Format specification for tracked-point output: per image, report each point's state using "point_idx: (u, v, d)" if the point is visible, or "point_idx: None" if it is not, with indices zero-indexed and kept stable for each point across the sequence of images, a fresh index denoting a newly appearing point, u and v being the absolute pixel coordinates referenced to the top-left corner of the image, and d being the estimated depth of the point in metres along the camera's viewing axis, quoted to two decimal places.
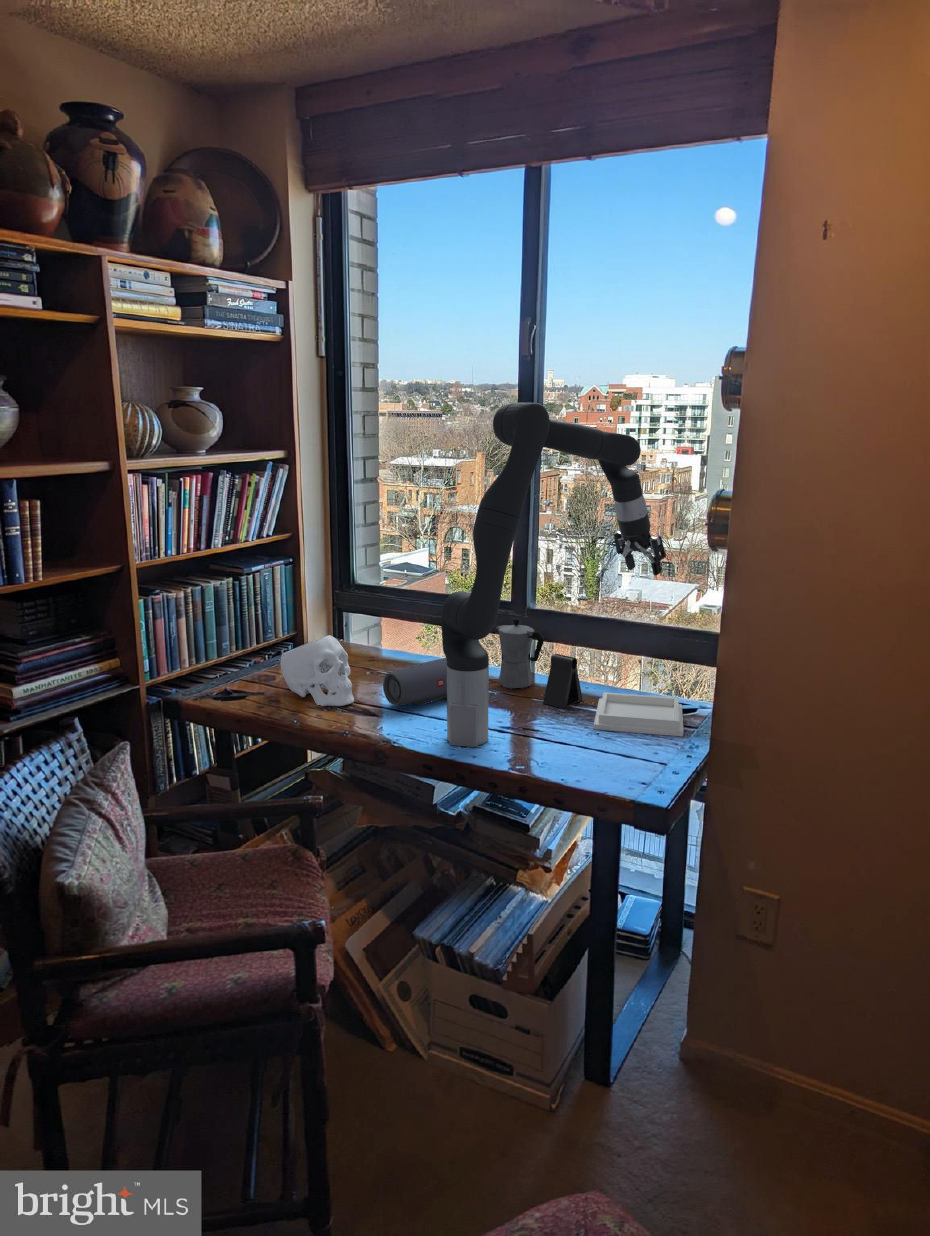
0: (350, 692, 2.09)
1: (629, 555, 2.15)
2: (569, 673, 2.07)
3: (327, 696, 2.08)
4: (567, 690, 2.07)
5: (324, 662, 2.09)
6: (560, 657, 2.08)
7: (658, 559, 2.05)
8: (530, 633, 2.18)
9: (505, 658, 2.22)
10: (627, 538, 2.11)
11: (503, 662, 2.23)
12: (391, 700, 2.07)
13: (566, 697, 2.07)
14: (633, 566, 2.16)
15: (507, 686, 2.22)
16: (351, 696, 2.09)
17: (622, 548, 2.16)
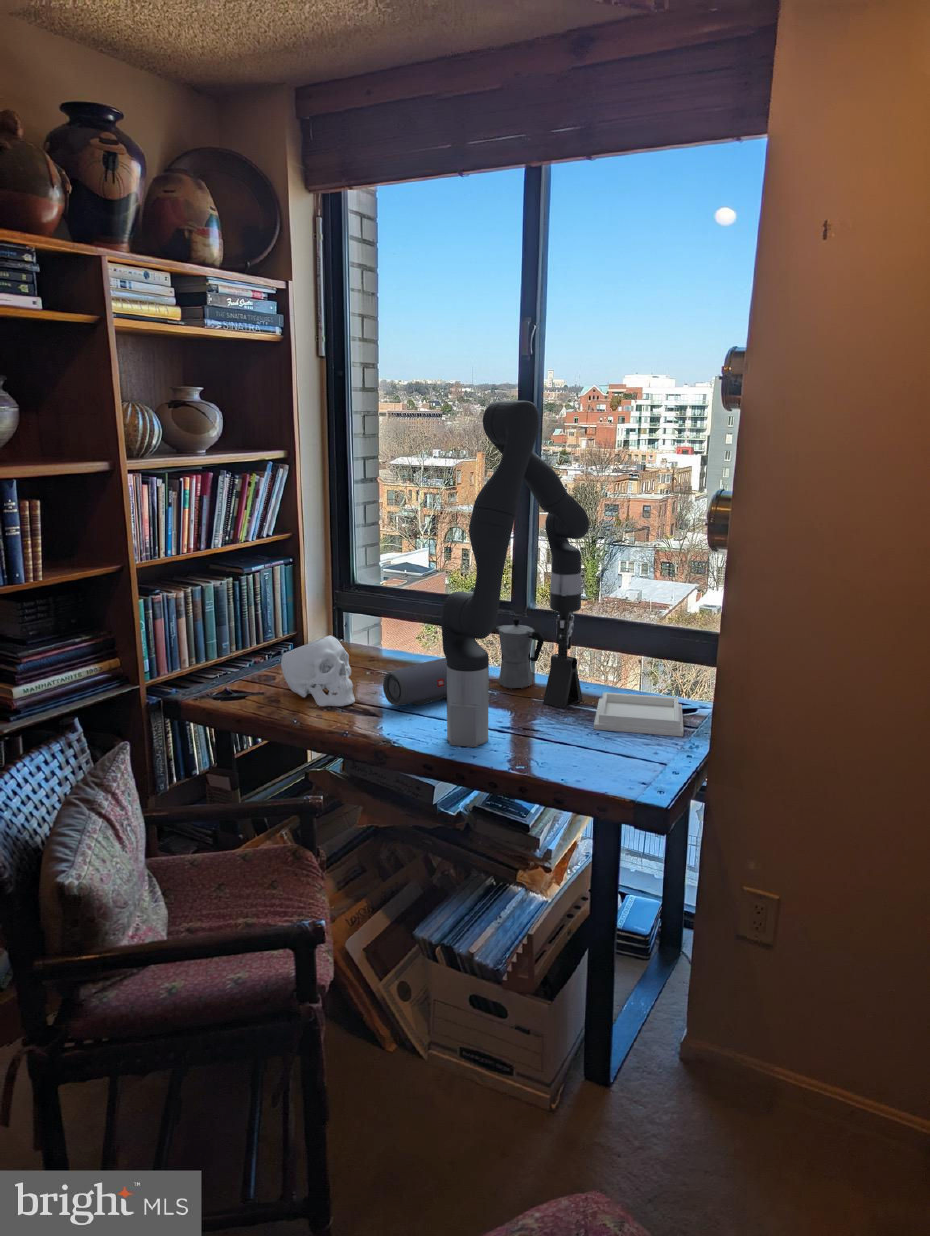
0: (351, 692, 2.09)
1: None
2: (569, 673, 2.07)
3: (328, 696, 2.08)
4: (567, 690, 2.07)
5: (325, 662, 2.09)
6: None
7: (556, 641, 2.01)
8: (530, 633, 2.18)
9: (505, 658, 2.22)
10: None
11: (503, 662, 2.23)
12: (391, 700, 2.07)
13: (566, 697, 2.07)
14: (567, 647, 2.12)
15: (507, 686, 2.22)
16: (352, 696, 2.09)
17: None
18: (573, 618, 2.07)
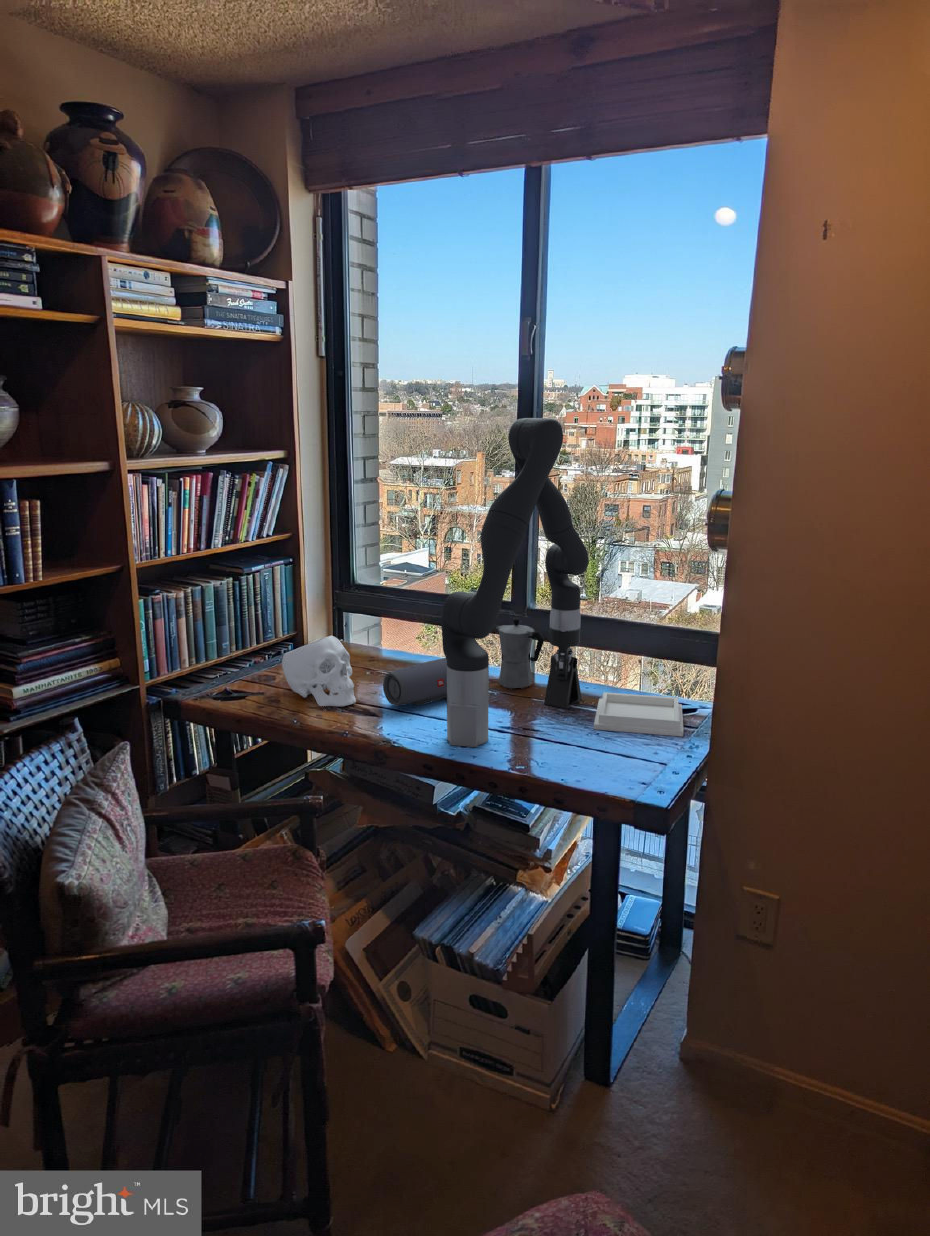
0: (352, 692, 2.09)
1: None
2: (570, 673, 2.07)
3: (329, 696, 2.08)
4: (569, 690, 2.07)
5: (326, 662, 2.09)
6: None
7: (556, 677, 2.06)
8: (530, 633, 2.18)
9: (505, 658, 2.22)
10: None
11: (503, 662, 2.23)
12: (391, 700, 2.07)
13: (568, 697, 2.07)
14: None
15: (507, 686, 2.22)
16: (353, 696, 2.09)
17: None
18: (572, 652, 2.09)
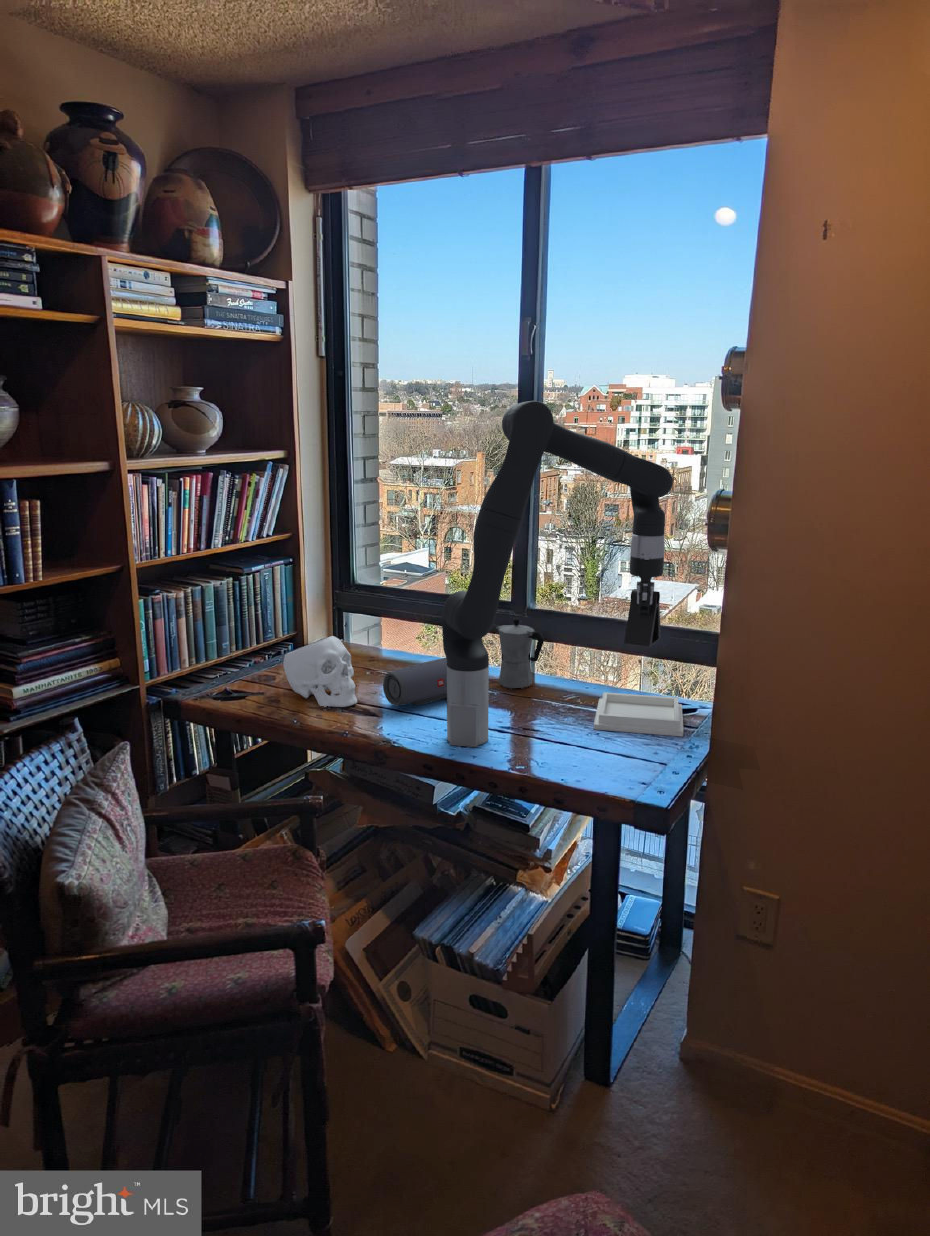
0: (353, 693, 2.09)
1: None
2: (654, 608, 1.91)
3: (330, 697, 2.08)
4: (652, 627, 1.91)
5: (327, 663, 2.09)
6: None
7: (638, 610, 1.90)
8: (530, 633, 2.18)
9: (505, 658, 2.22)
10: None
11: (503, 662, 2.23)
12: (391, 700, 2.07)
13: (651, 634, 1.91)
14: None
15: (507, 686, 2.22)
16: (354, 697, 2.09)
17: None
18: None
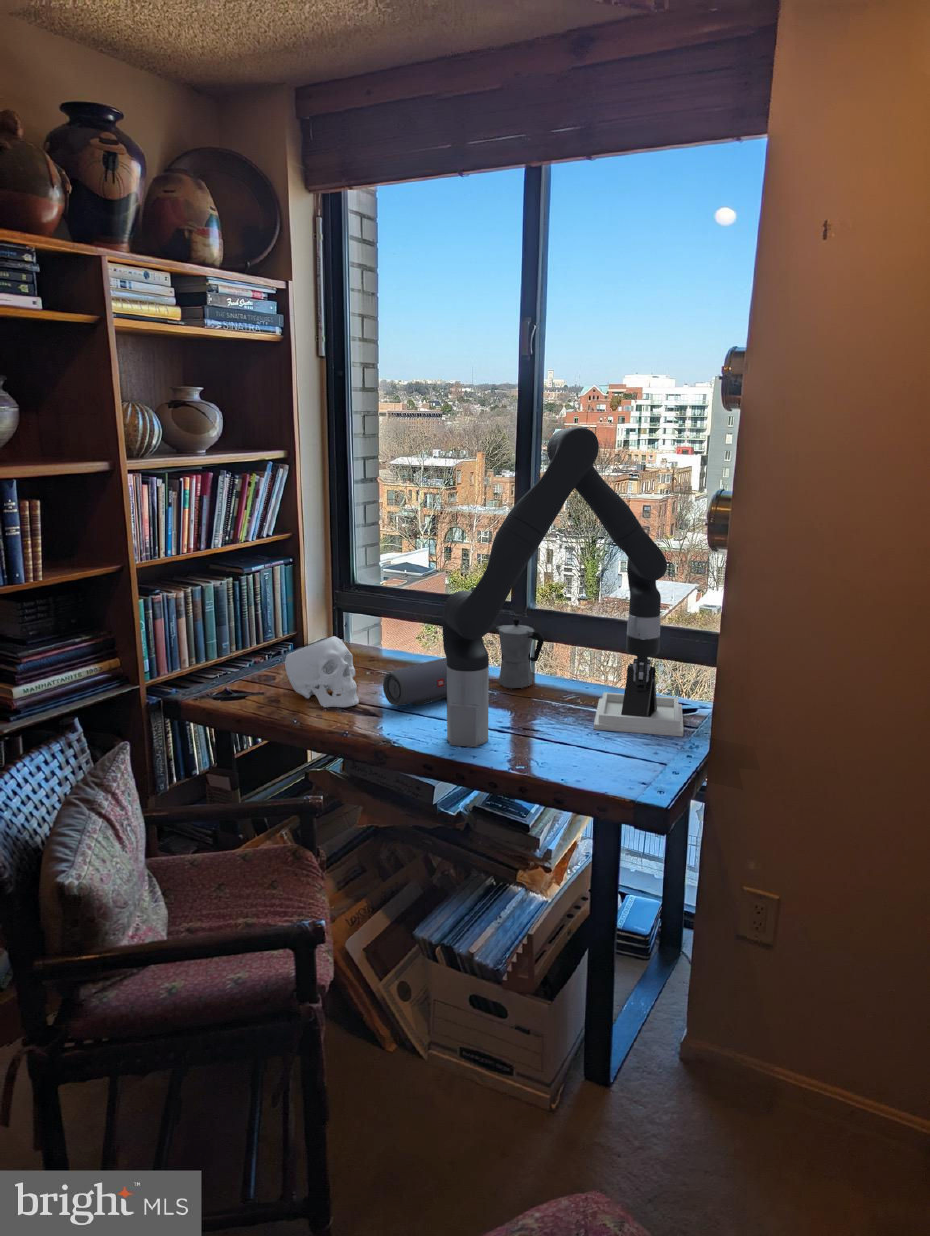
0: (355, 693, 2.08)
1: None
2: (650, 683, 1.95)
3: (332, 697, 2.07)
4: (648, 702, 1.95)
5: (329, 663, 2.08)
6: None
7: (635, 687, 1.94)
8: (530, 633, 2.18)
9: (505, 658, 2.22)
10: None
11: (503, 662, 2.23)
12: (391, 700, 2.07)
13: (648, 709, 1.95)
14: None
15: (507, 686, 2.22)
16: (356, 697, 2.08)
17: None
18: (650, 661, 1.97)
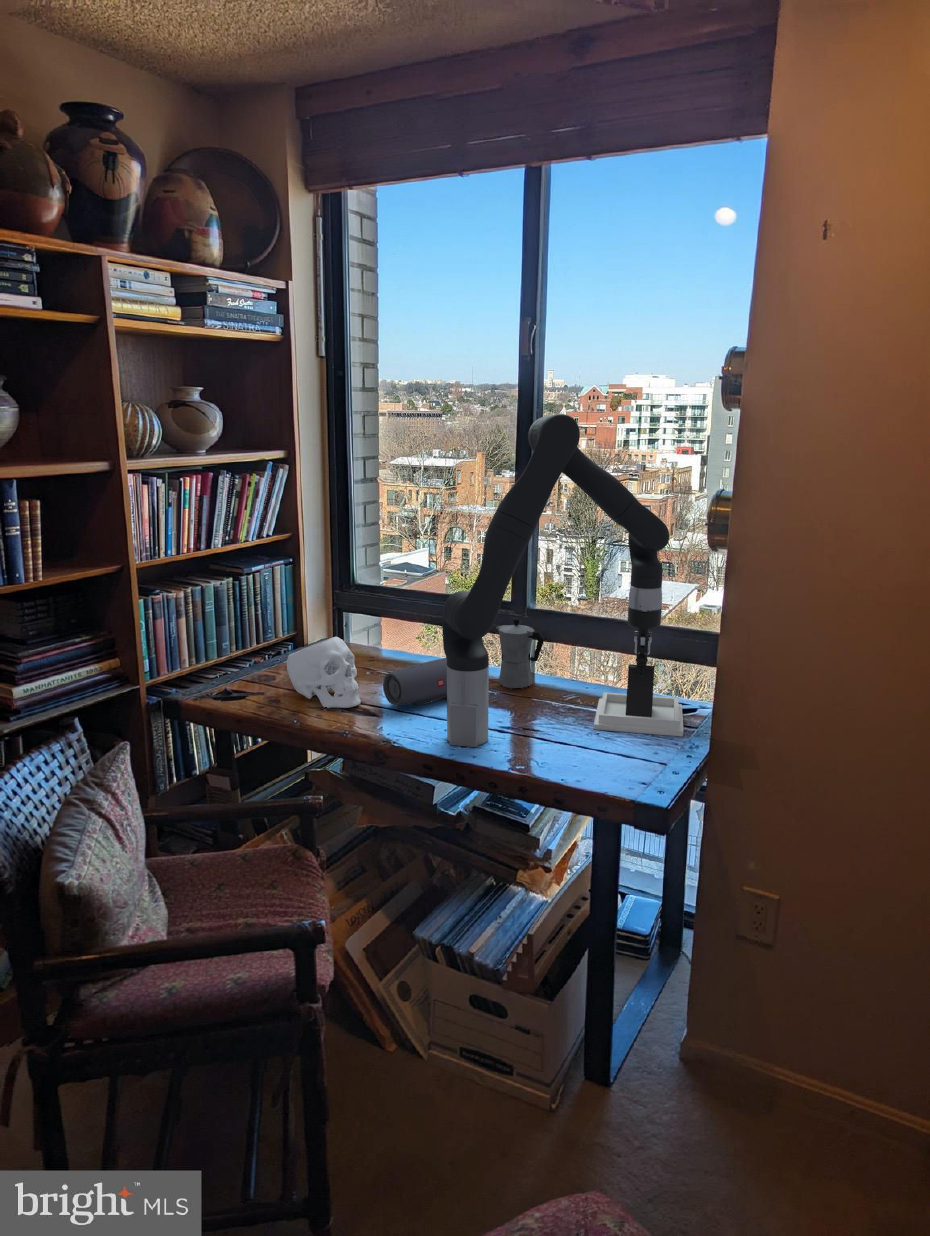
0: (356, 694, 2.08)
1: None
2: (652, 683, 1.96)
3: (333, 698, 2.07)
4: (652, 701, 1.95)
5: (330, 664, 2.08)
6: None
7: (636, 659, 1.90)
8: (530, 633, 2.18)
9: (505, 658, 2.22)
10: None
11: (503, 662, 2.23)
12: (391, 700, 2.07)
13: None
14: None
15: (507, 686, 2.22)
16: (357, 698, 2.08)
17: None
18: (651, 635, 1.95)
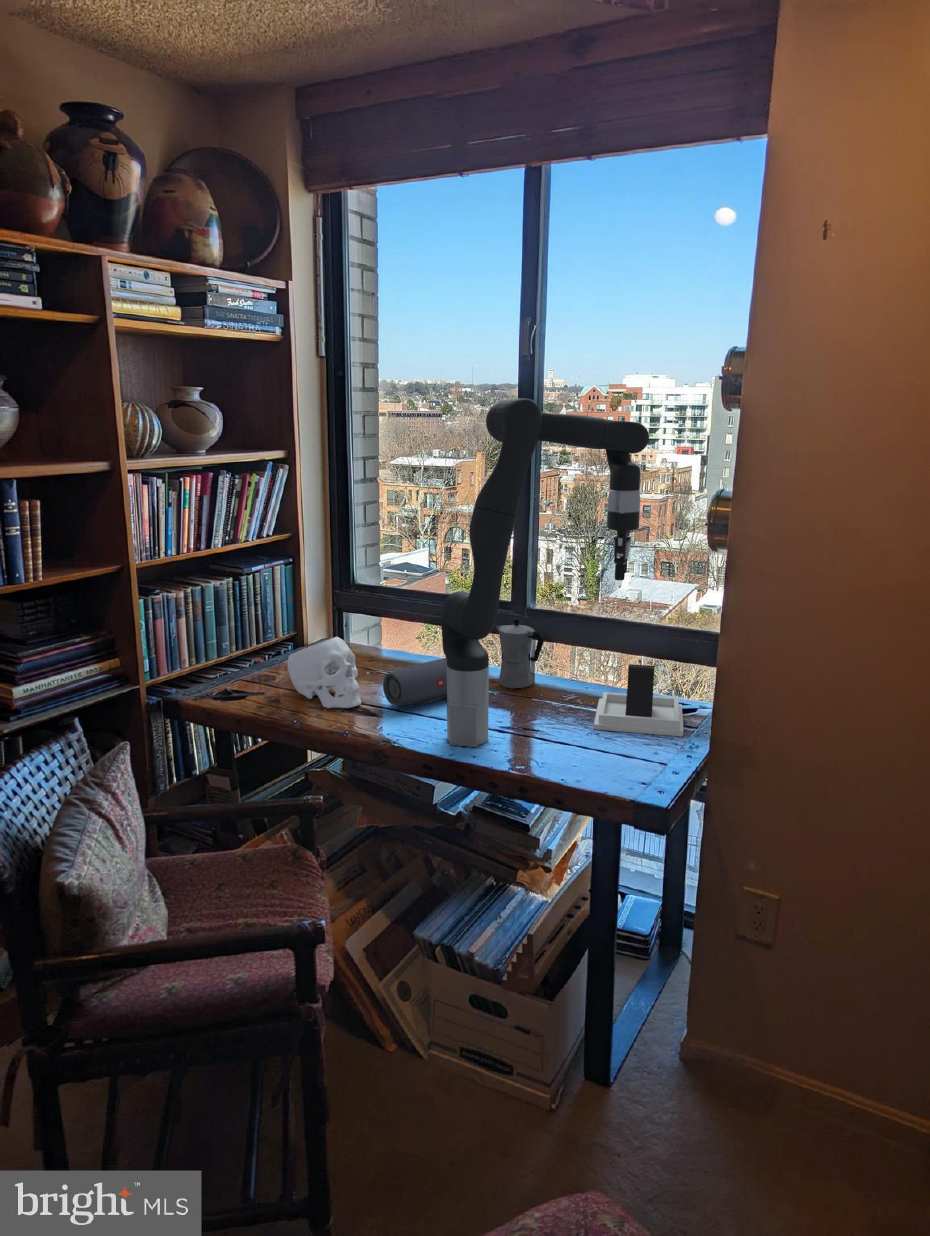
0: (357, 694, 2.08)
1: (622, 557, 2.05)
2: (652, 683, 1.96)
3: (334, 698, 2.07)
4: (652, 701, 1.95)
5: (331, 664, 2.08)
6: (639, 667, 1.96)
7: (614, 560, 1.95)
8: (530, 633, 2.18)
9: (505, 658, 2.22)
10: None
11: (503, 662, 2.23)
12: (391, 700, 2.07)
13: None
14: None
15: (507, 686, 2.22)
16: (358, 698, 2.08)
17: None
18: None
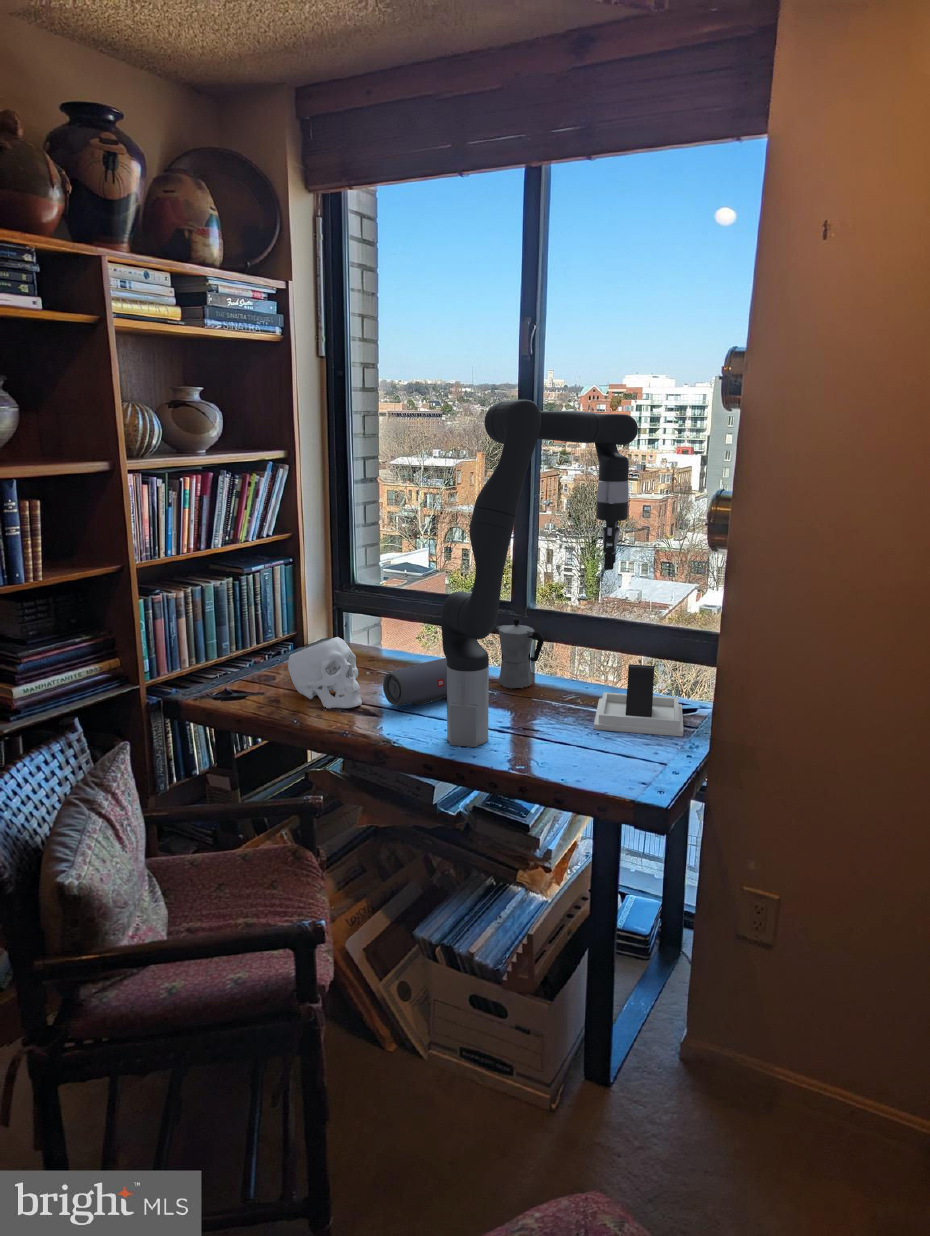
0: (358, 694, 2.08)
1: (611, 547, 2.09)
2: (652, 683, 1.96)
3: (335, 698, 2.07)
4: (652, 701, 1.95)
5: (332, 664, 2.08)
6: (639, 667, 1.96)
7: (603, 549, 1.98)
8: (530, 633, 2.18)
9: (505, 658, 2.22)
10: None
11: (503, 662, 2.23)
12: (391, 700, 2.07)
13: None
14: None
15: (507, 686, 2.22)
16: (359, 698, 2.08)
17: None
18: (619, 529, 2.04)
